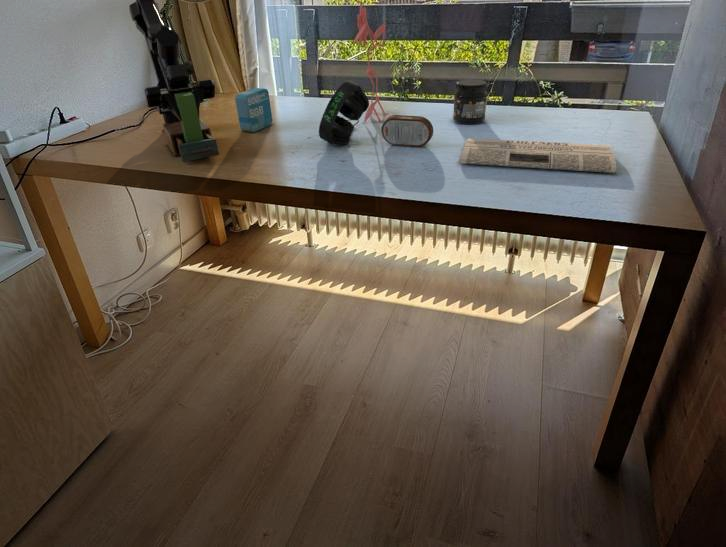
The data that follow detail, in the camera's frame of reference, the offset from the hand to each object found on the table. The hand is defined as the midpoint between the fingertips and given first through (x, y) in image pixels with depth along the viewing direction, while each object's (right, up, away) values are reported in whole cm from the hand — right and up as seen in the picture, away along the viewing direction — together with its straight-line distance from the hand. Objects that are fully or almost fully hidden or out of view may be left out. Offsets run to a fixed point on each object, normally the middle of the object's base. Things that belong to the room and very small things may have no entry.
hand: (190, 118), depth 137 cm
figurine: (+49, +11, +35) cm, 61 cm away
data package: (+12, +6, +30) cm, 33 cm away
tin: (+61, -6, +7) cm, 62 cm away
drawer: (0, -9, +5) cm, 10 cm away
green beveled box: (0, -5, +5) cm, 7 cm away
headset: (+41, -3, +13) cm, 43 cm away
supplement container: (+83, +7, +26) cm, 88 cm away
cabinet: (-5, -4, +15) cm, 16 cm away
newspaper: (+94, -13, -7) cm, 95 cm away
